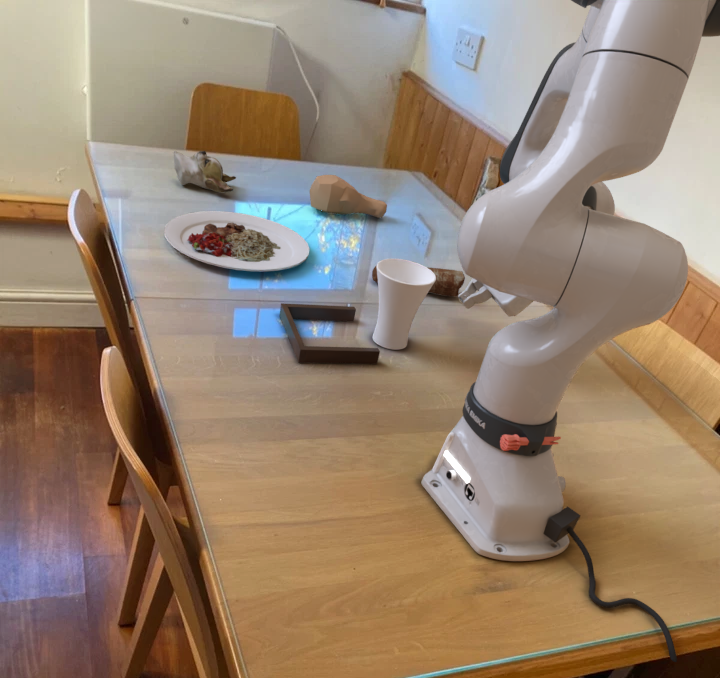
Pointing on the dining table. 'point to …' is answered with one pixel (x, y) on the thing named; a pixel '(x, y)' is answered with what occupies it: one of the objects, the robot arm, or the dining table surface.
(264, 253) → the plated food
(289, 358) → the dining table surface
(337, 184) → the tan chicken drumstick
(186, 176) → the ceramic sculpture
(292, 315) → the dark brown flat frame
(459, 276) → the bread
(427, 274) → the cup
